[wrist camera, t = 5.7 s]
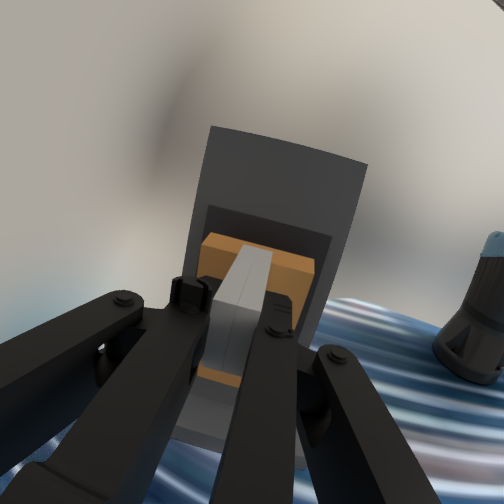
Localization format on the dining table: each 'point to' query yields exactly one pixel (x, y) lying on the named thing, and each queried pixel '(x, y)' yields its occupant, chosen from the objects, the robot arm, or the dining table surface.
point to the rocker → (279, 281)
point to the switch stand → (267, 239)
